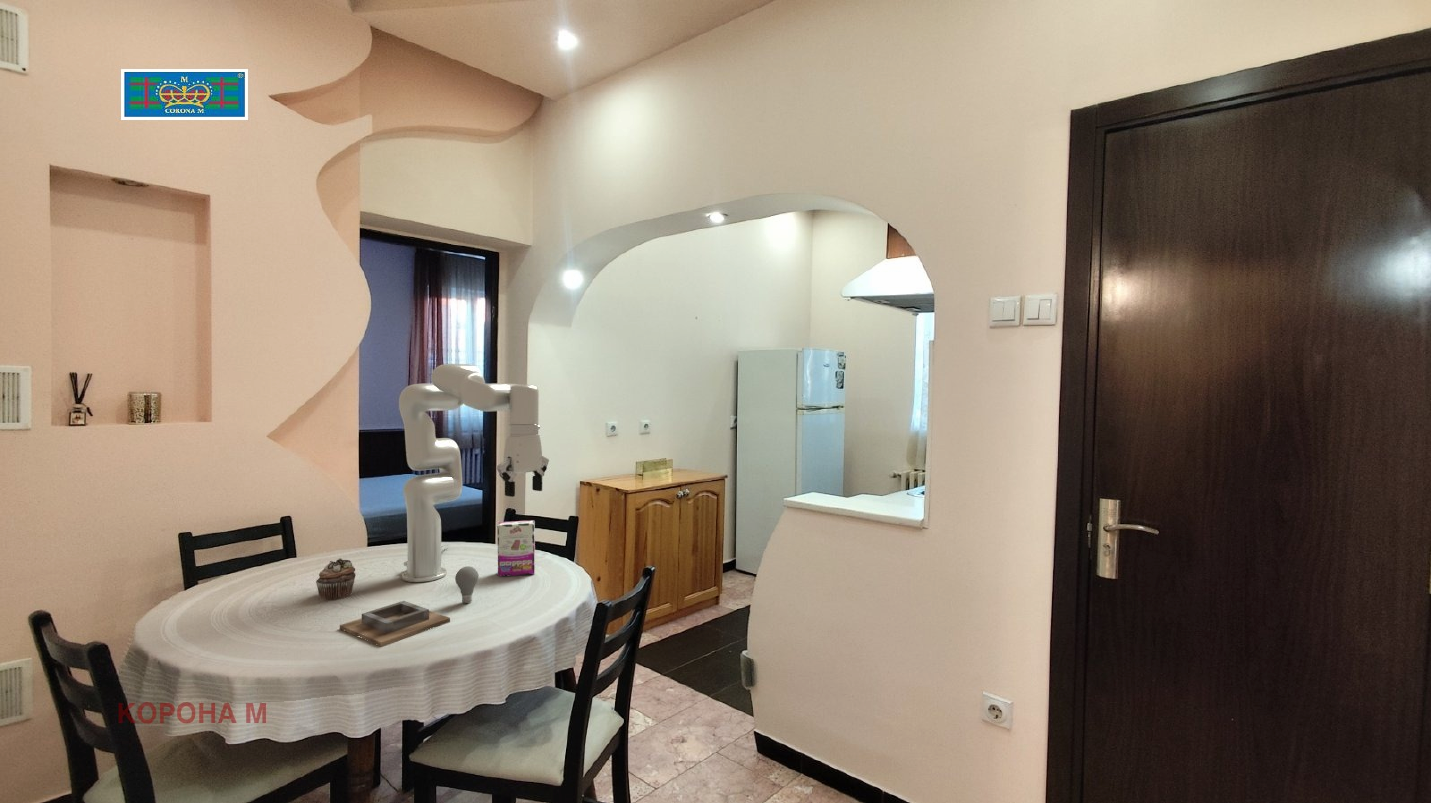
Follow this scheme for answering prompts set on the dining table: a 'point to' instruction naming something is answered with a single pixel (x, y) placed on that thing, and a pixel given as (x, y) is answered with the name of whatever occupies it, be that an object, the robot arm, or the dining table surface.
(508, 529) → the candy bar box
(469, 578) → the light bulb
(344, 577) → the cupcake
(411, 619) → the socket holder
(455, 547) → the dining table surface
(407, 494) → the robot arm
